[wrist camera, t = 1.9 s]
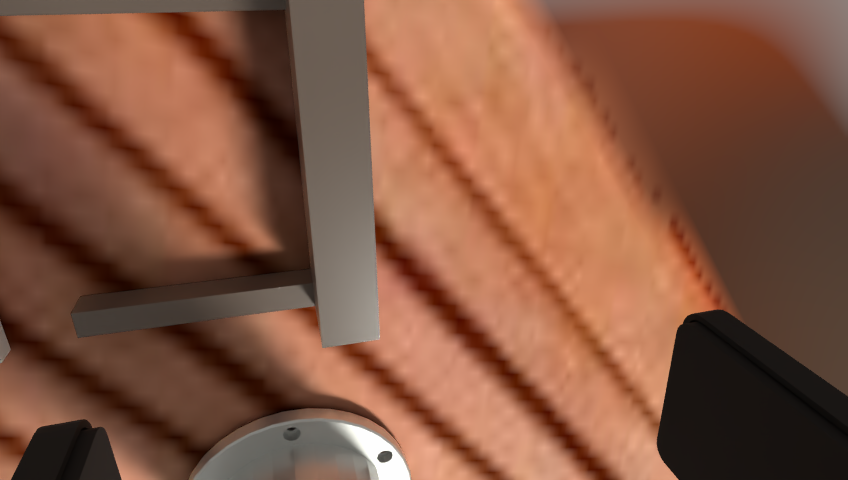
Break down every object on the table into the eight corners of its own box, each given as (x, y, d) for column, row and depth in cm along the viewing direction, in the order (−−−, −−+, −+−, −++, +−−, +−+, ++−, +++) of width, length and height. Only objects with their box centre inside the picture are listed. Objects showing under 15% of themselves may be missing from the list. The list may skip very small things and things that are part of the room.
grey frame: (87, 319, 26) (52, 389, 22) (-12, -23, 20) (-87, -24, 16) (362, 284, 29) (381, 339, 24) (344, -26, 23) (364, -28, 19)
